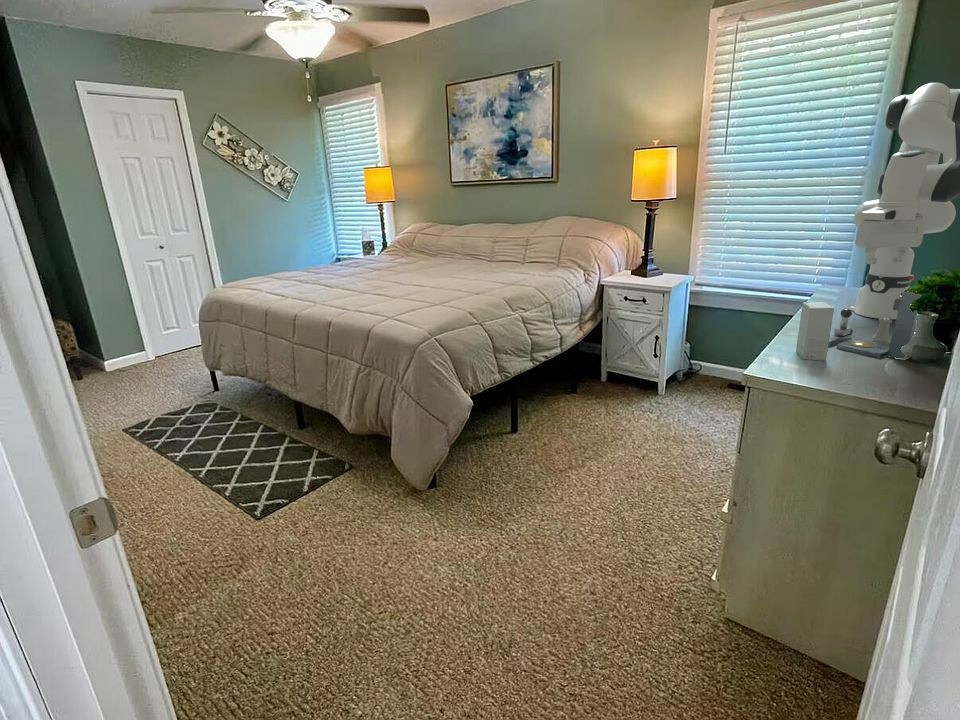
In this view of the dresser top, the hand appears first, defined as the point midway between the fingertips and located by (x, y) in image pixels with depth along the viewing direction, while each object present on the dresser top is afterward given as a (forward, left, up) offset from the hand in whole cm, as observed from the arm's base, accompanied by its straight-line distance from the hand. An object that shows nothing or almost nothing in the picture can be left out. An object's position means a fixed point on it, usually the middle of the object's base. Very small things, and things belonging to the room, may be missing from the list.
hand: (883, 263), depth 145 cm
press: (+8, +3, -23) cm, 25 cm away
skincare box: (+25, -3, -24) cm, 35 cm away
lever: (+4, -5, -22) cm, 22 cm away
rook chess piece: (-1, +3, -24) cm, 24 cm away
